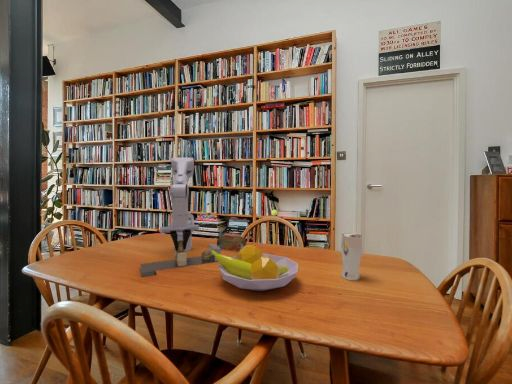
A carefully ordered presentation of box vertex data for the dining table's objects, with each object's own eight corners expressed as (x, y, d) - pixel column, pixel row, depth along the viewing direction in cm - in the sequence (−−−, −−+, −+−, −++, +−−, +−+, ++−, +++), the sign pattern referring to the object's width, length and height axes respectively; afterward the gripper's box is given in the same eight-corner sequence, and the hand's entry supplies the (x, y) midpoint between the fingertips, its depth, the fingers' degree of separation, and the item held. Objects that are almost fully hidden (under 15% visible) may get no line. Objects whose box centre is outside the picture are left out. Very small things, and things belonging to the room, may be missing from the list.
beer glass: (351, 282, 89) (352, 238, 89) (336, 275, 96) (336, 234, 95) (365, 278, 93) (366, 236, 92) (350, 272, 99) (351, 232, 98)
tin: (216, 251, 125) (216, 234, 125) (220, 250, 128) (220, 232, 128) (244, 256, 118) (244, 237, 118) (247, 254, 121) (247, 236, 121)
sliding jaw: (174, 260, 107) (174, 239, 107) (182, 259, 108) (182, 238, 108) (178, 266, 100) (178, 243, 100) (186, 265, 101) (186, 243, 101)
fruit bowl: (299, 271, 100) (299, 241, 100) (294, 305, 74) (295, 264, 73) (228, 265, 106) (227, 237, 105) (199, 295, 79) (199, 257, 79)
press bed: (140, 267, 103) (140, 251, 102) (215, 257, 116) (215, 243, 115) (142, 276, 94) (141, 258, 93) (223, 264, 107) (223, 248, 106)
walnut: (200, 258, 110) (200, 249, 109) (209, 257, 111) (209, 248, 111) (203, 261, 106) (203, 251, 106) (212, 259, 108) (211, 250, 108)
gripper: (161, 217, 96) (162, 254, 97) (201, 215, 103) (201, 250, 104) (159, 215, 103) (159, 249, 104) (196, 212, 109) (196, 245, 110)
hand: (180, 249), depth 104 cm, fingers closed on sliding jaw, 2 cm apart
